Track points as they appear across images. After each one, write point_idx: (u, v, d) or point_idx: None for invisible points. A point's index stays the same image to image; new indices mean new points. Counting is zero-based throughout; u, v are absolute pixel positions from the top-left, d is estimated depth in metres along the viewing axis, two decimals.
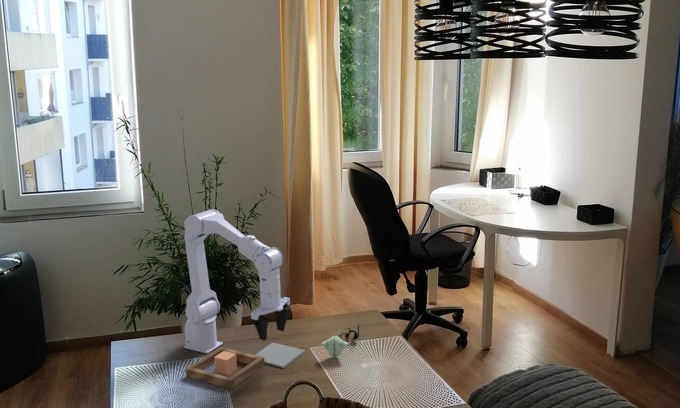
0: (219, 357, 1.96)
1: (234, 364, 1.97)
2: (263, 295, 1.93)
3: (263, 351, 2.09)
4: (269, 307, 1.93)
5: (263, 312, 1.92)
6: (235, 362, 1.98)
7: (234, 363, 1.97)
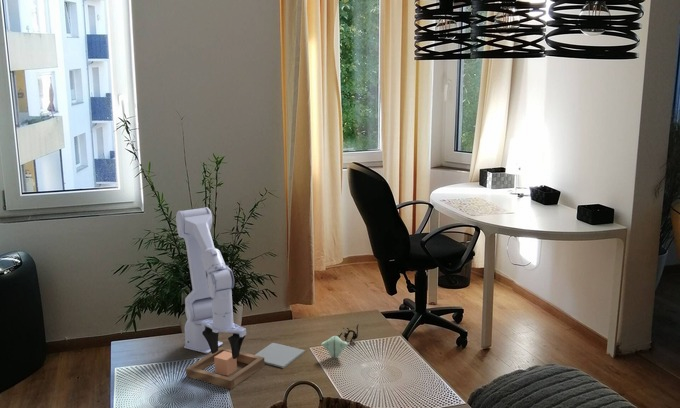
0: (219, 357, 1.96)
1: (234, 364, 1.97)
2: None
3: (263, 351, 2.09)
4: (213, 324, 1.94)
5: (207, 325, 1.96)
6: (235, 362, 1.98)
7: (234, 363, 1.97)
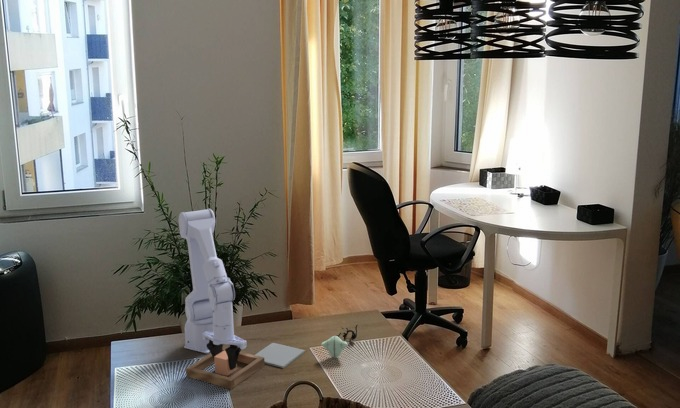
0: (219, 357, 1.96)
1: None
2: None
3: (263, 351, 2.09)
4: (214, 336, 1.95)
5: (207, 337, 1.96)
6: None
7: None
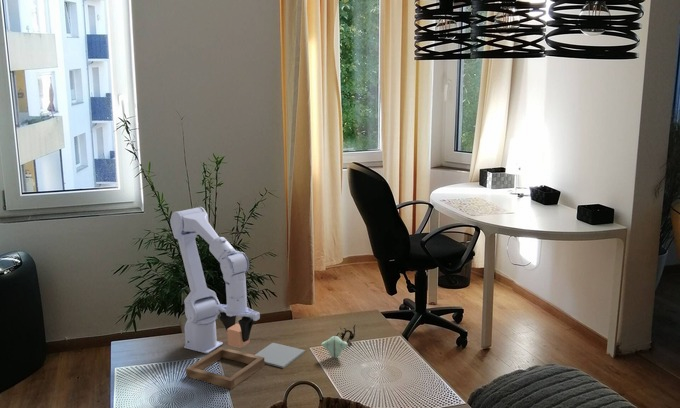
0: (232, 329, 1.96)
1: None
2: None
3: (263, 351, 2.09)
4: (227, 308, 1.96)
5: (221, 309, 1.97)
6: None
7: None
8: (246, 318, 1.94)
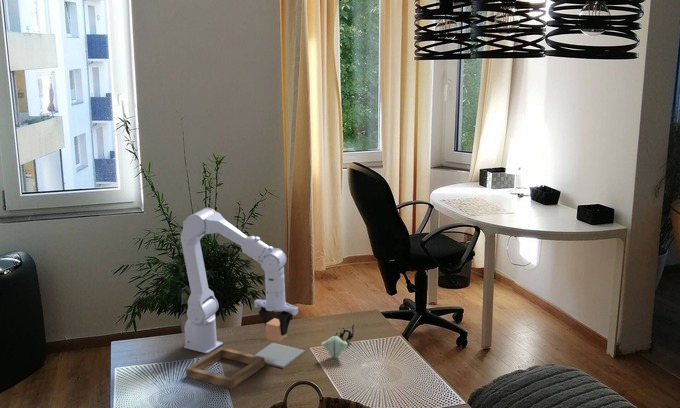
0: (270, 323, 2.03)
1: None
2: None
3: (263, 351, 2.09)
4: (266, 303, 2.03)
5: (259, 304, 2.04)
6: None
7: None
8: (285, 312, 2.01)
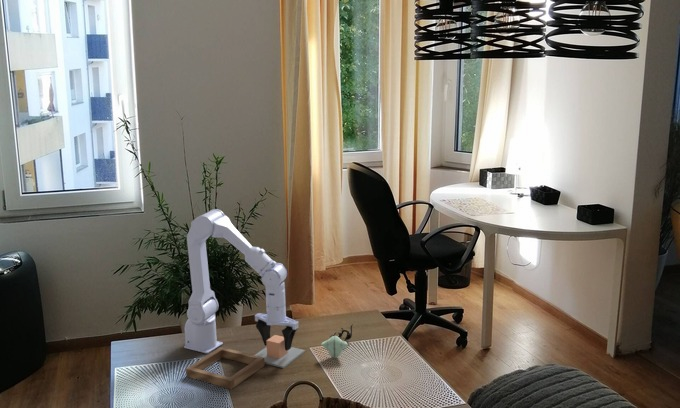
0: (271, 340, 2.04)
1: None
2: None
3: (263, 351, 2.09)
4: (266, 317, 2.04)
5: (260, 318, 2.05)
6: None
7: None
8: None
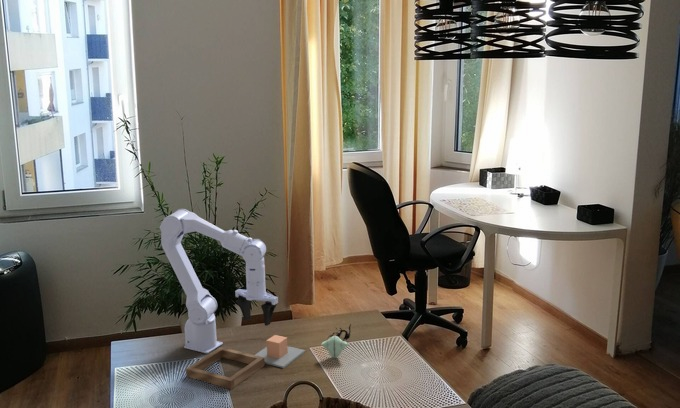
0: (271, 340, 2.04)
1: (285, 347, 2.06)
2: None
3: (263, 351, 2.09)
4: (246, 293, 2.06)
5: (240, 293, 2.08)
6: (286, 345, 2.06)
7: (285, 346, 2.06)
8: (265, 302, 2.05)
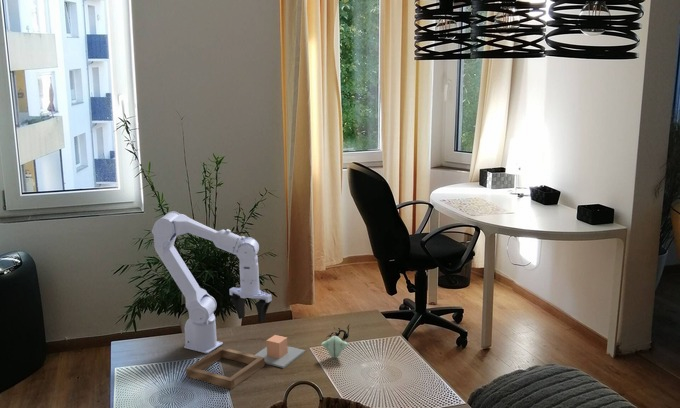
0: (271, 340, 2.04)
1: (285, 347, 2.06)
2: None
3: (263, 351, 2.09)
4: (240, 291, 2.08)
5: (234, 291, 2.09)
6: (286, 345, 2.06)
7: (285, 346, 2.06)
8: (259, 300, 2.06)
